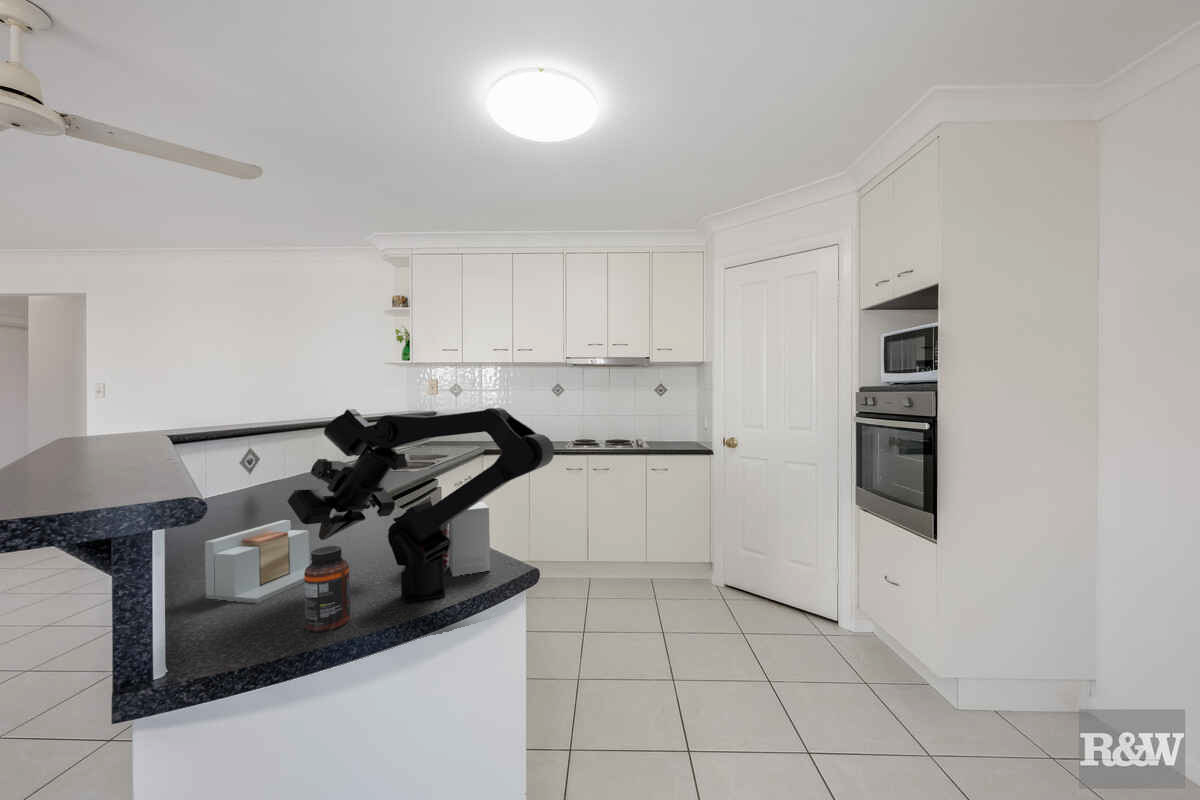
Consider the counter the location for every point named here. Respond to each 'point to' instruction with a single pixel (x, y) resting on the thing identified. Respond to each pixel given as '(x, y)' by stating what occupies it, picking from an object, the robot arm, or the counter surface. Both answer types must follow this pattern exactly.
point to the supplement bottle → (327, 590)
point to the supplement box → (470, 541)
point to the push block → (271, 554)
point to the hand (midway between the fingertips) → (321, 538)
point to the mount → (252, 565)
